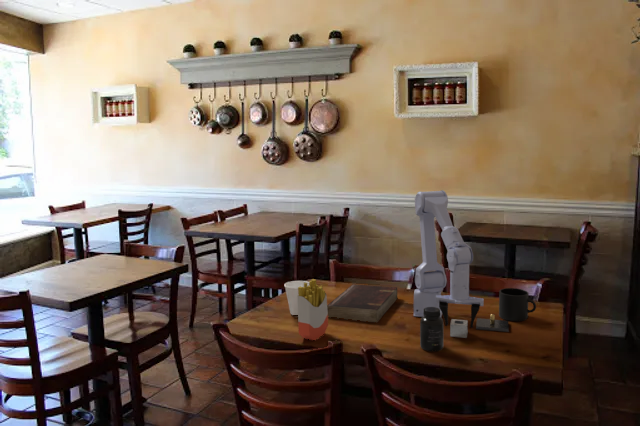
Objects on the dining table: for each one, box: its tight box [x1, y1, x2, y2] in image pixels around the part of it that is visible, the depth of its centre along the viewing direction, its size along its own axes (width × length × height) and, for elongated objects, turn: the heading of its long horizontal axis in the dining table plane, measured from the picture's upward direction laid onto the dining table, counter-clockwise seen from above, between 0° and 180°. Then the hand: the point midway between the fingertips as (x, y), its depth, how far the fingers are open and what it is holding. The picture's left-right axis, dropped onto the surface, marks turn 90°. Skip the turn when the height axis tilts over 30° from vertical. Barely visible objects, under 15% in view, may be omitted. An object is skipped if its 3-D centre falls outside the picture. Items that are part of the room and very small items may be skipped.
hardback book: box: [327, 283, 398, 324], centre depth 196 cm, size 29×19×5 cm, turn 158°
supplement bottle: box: [419, 307, 445, 353], centre depth 156 cm, size 7×7×12 cm
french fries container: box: [297, 278, 329, 341], centre depth 166 cm, size 5×11×18 cm, turn 147°
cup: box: [284, 280, 309, 316], centre depth 190 cm, size 10×10×11 cm
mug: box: [498, 287, 537, 322], centre depth 180 cm, size 9×12×9 cm
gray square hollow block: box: [449, 318, 469, 339], centre depth 166 cm, size 5×5×4 cm
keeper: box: [475, 313, 510, 333], centre depth 173 cm, size 10×8×4 cm
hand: (459, 325), depth 166 cm, fingers open, 7 cm apart
